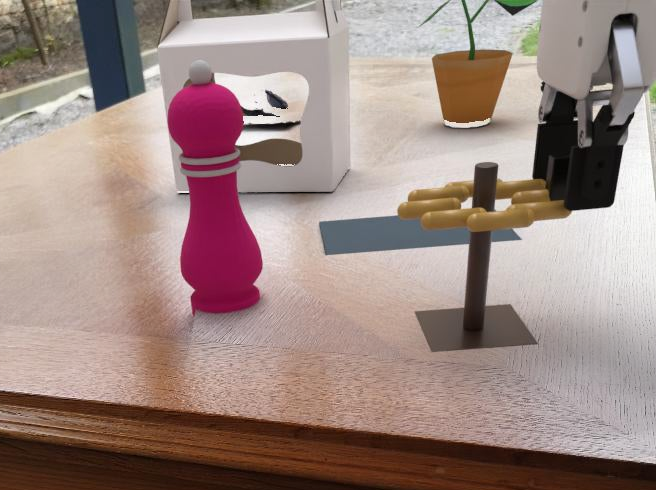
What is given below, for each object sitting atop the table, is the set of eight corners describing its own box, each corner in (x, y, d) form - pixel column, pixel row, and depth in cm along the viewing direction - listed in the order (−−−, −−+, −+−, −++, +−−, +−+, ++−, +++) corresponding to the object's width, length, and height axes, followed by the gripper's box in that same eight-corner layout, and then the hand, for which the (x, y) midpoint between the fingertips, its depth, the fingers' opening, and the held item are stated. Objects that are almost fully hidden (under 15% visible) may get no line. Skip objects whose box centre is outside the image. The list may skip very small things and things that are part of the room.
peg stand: (509, 317, 65) (528, 147, 58) (536, 358, 59) (562, 173, 51) (413, 324, 66) (419, 156, 58) (430, 366, 59) (440, 183, 51)
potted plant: (403, 137, 125) (409, -100, 108) (423, 114, 139) (432, -99, 122) (518, 136, 120) (544, -113, 102) (527, 112, 134) (552, -111, 116)
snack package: (270, 117, 148) (222, 127, 142) (272, 80, 144) (223, 88, 138) (313, 135, 142) (265, 146, 136) (317, 96, 138) (267, 106, 132)
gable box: (352, 168, 111) (349, -78, 95) (335, 193, 101) (328, -77, 85) (205, 170, 117) (178, -62, 100) (174, 194, 106) (139, -59, 90)
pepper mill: (250, 291, 75) (228, 50, 63) (278, 317, 69) (259, 58, 57) (178, 306, 73) (141, 61, 61) (200, 334, 67) (164, 70, 56)
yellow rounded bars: (570, 186, 60) (576, 138, 58) (615, 222, 53) (624, 168, 50) (388, 202, 61) (388, 155, 59) (407, 240, 53) (408, 187, 51)
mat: (493, 212, 89) (493, 207, 89) (539, 264, 75) (539, 259, 75) (319, 225, 90) (319, 221, 90) (331, 280, 76) (331, 275, 75)
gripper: (757, -147, 38) (675, 224, 49) (622, -125, 52) (582, 160, 63) (602, -131, 38) (554, 235, 49) (509, -113, 52) (488, 169, 63)
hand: (570, 191), depth 56 cm, fingers closed on yellow rounded bars, 6 cm apart
